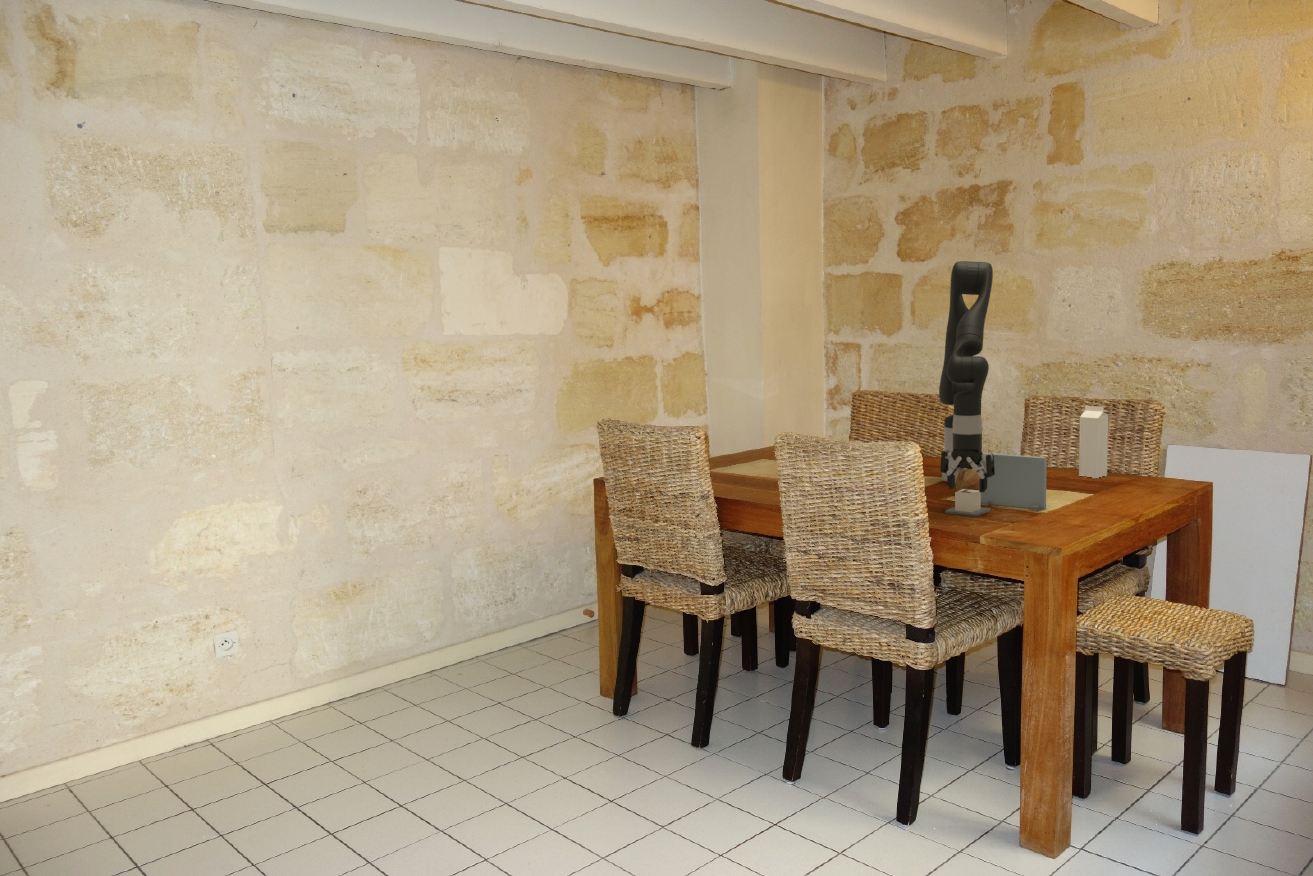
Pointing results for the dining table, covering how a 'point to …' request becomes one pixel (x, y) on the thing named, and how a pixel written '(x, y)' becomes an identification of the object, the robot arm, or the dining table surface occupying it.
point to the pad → (976, 513)
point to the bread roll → (967, 480)
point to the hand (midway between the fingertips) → (967, 490)
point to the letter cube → (967, 500)
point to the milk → (1093, 442)
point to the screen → (1016, 482)
